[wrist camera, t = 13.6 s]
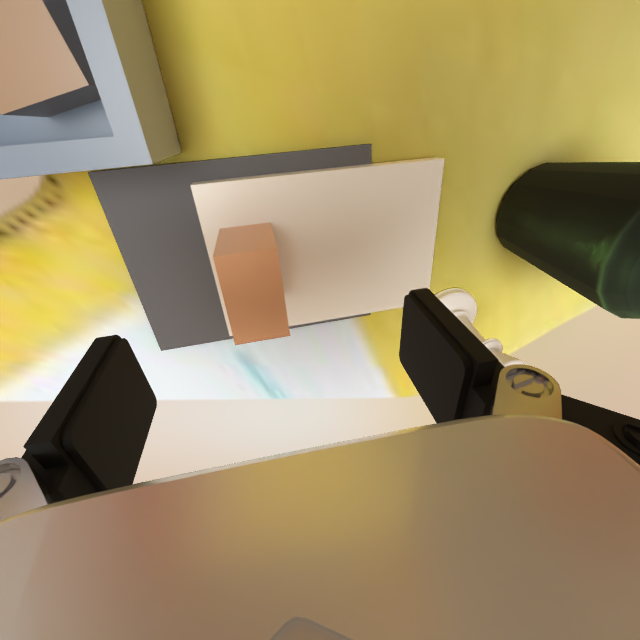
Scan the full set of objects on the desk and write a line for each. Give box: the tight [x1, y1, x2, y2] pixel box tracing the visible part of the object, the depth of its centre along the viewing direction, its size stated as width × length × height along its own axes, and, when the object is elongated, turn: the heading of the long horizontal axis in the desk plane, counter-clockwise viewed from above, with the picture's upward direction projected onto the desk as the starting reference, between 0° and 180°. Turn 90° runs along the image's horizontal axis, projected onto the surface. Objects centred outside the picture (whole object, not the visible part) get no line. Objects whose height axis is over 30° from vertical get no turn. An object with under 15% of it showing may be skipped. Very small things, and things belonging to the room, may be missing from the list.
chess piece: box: [435, 288, 525, 367], centre depth 24 cm, size 5×5×10 cm
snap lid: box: [190, 157, 445, 345], centre depth 20 cm, size 15×10×6 cm, turn 94°
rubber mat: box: [88, 144, 371, 351], centre depth 22 cm, size 16×12×1 cm
